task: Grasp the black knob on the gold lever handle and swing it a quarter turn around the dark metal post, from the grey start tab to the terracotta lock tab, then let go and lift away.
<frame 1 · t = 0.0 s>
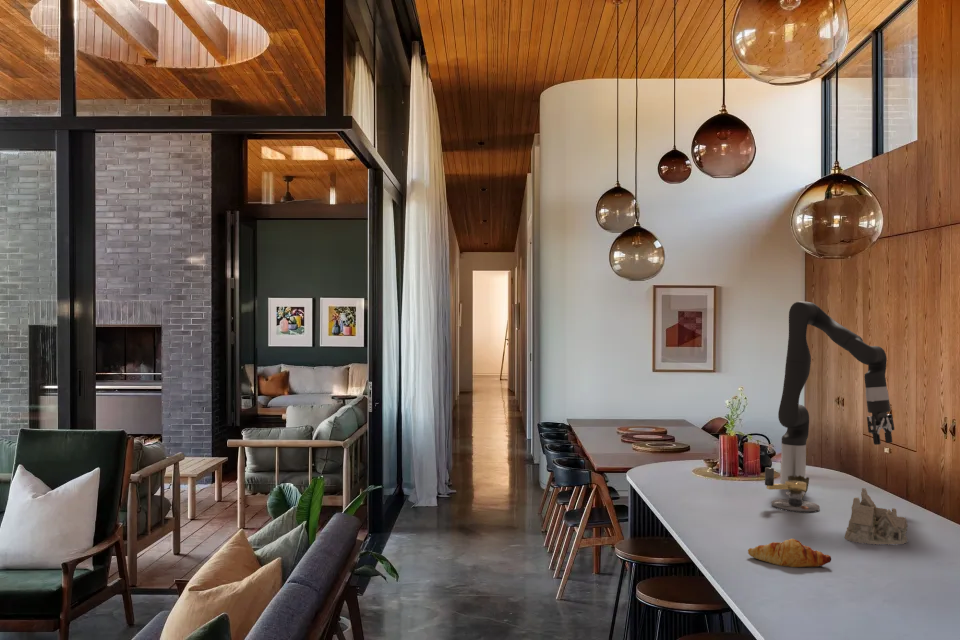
hand: (883, 443, 280), 22 cm above the kitchen island, tool pointing down, fingers open, 8 cm apart
ceramic cottage: (875, 540, 233), on the kitchen island
gold lever handle: (785, 478, 273), point 10 cm above the kitchen island, hinge at 0.0°
croissant: (788, 563, 208), on the kitchen island
post base: (795, 507, 273), on the kitchen island
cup: (798, 498, 288), on the kitchen island
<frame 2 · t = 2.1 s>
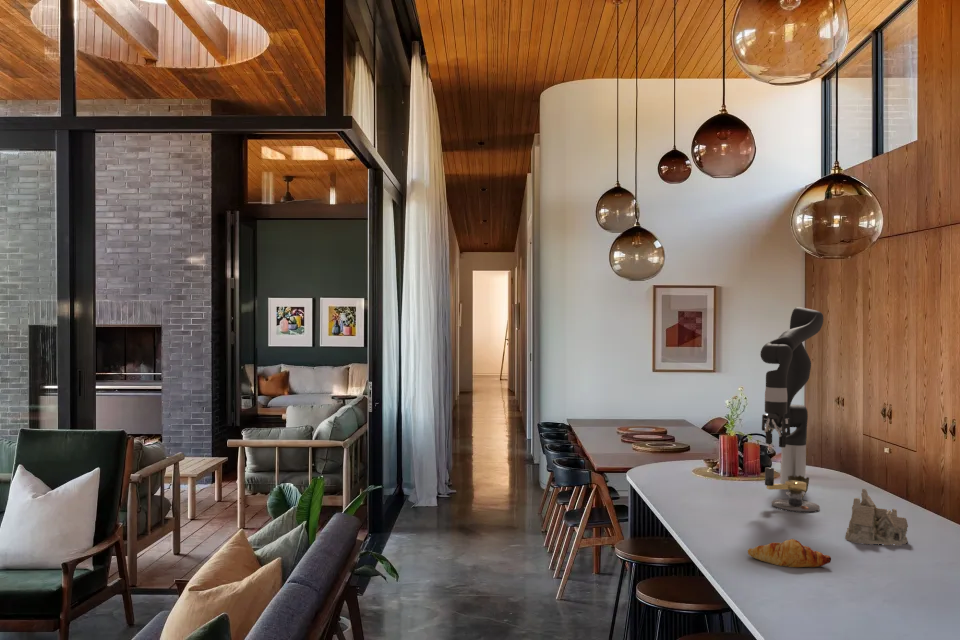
hand: (775, 445, 271), 22 cm above the kitchen island, tool pointing down, fingers open, 8 cm apart
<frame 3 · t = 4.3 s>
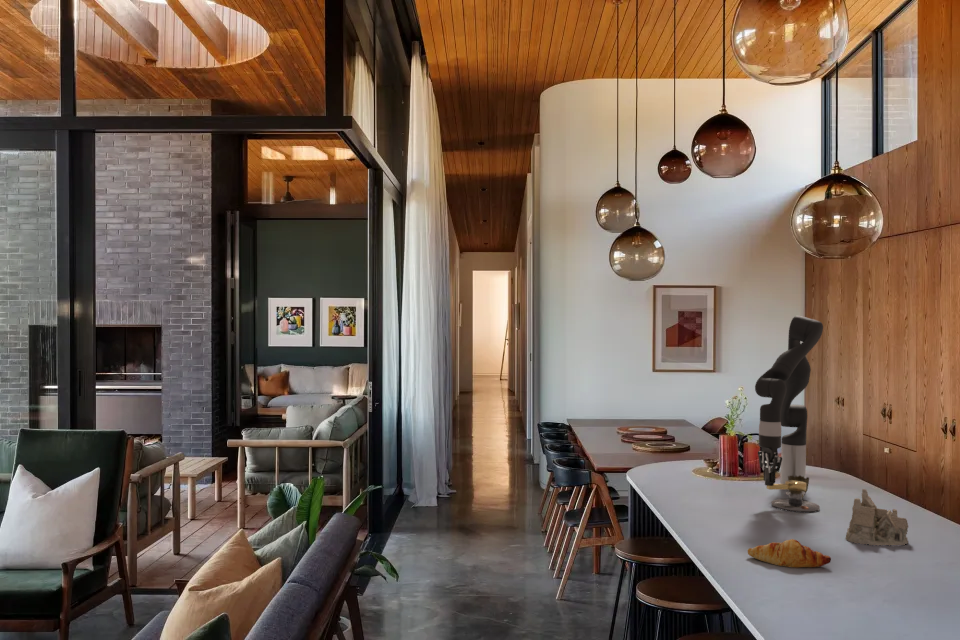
hand: (769, 481, 272), 9 cm above the kitchen island, tool pointing down, fingers closed on gold lever handle, 3 cm apart
gold lever handle: (785, 478, 273), point 10 cm above the kitchen island, hinge at 0.0°, touching gripper
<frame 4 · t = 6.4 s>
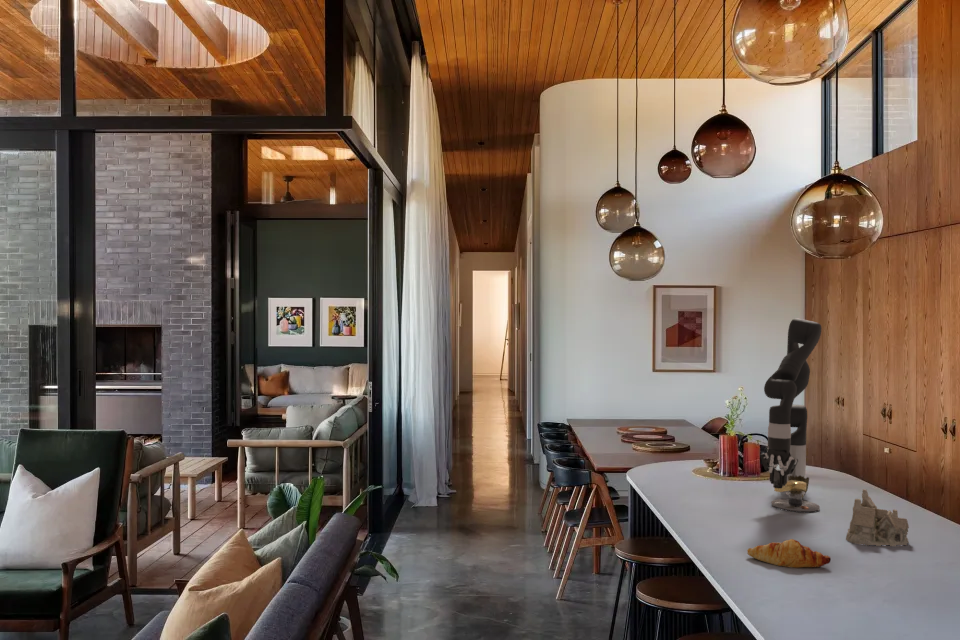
hand: (778, 484, 268), 9 cm above the kitchen island, tool pointing down, fingers closed on gold lever handle, 3 cm apart
gold lever handle: (788, 479, 271), point 10 cm above the kitchen island, hinge at 25.3°, touching gripper
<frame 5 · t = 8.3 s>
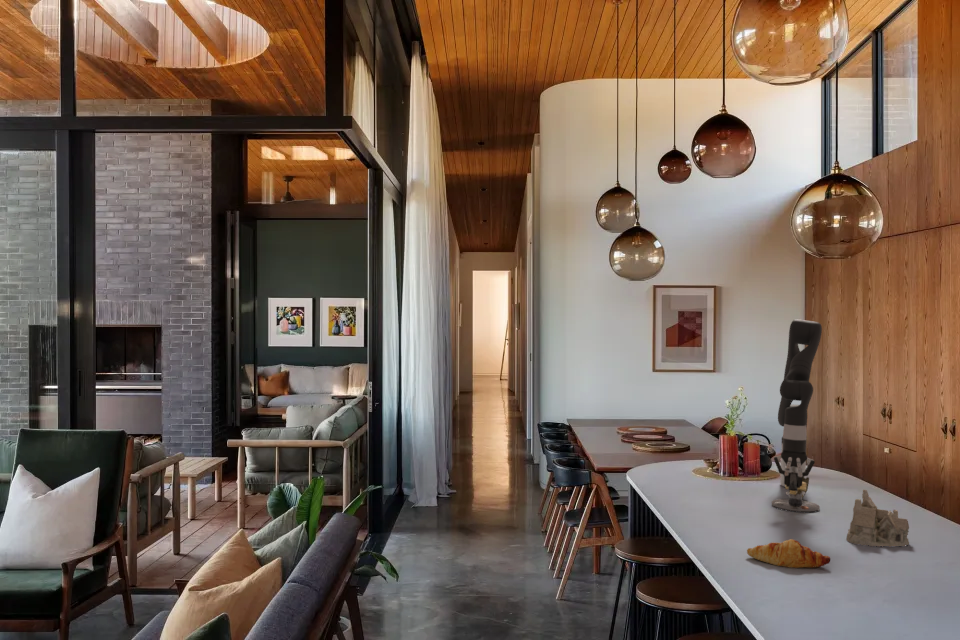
hand: (792, 486, 264), 9 cm above the kitchen island, tool pointing down, fingers closed on gold lever handle, 3 cm apart
gold lever handle: (794, 480, 270), point 10 cm above the kitchen island, hinge at 55.8°, touching gripper
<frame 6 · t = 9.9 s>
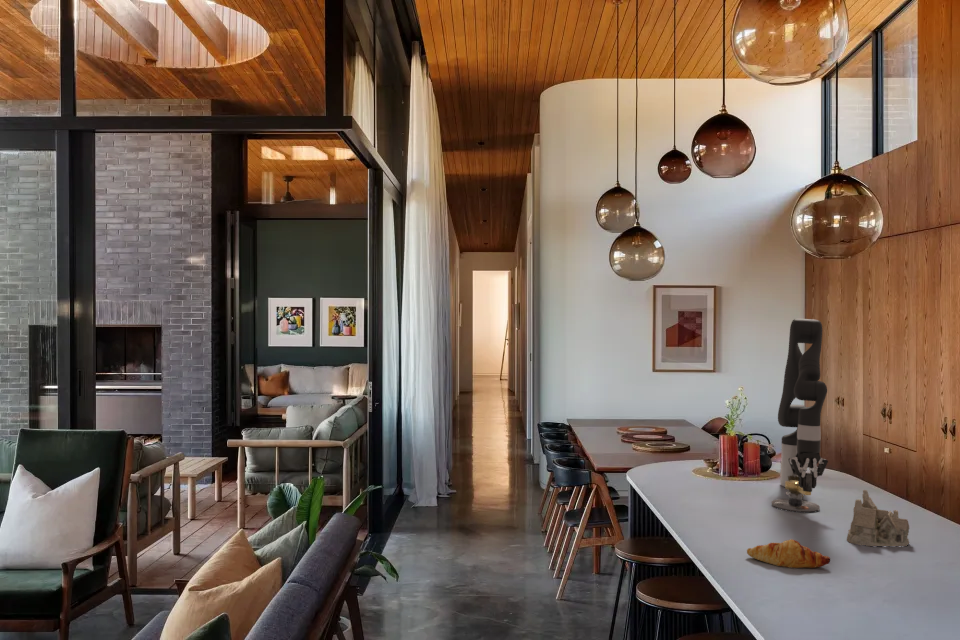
hand: (807, 487, 263), 9 cm above the kitchen island, tool pointing down, fingers closed on gold lever handle, 3 cm apart
gold lever handle: (800, 480, 269), point 10 cm above the kitchen island, hinge at 83.1°, touching gripper
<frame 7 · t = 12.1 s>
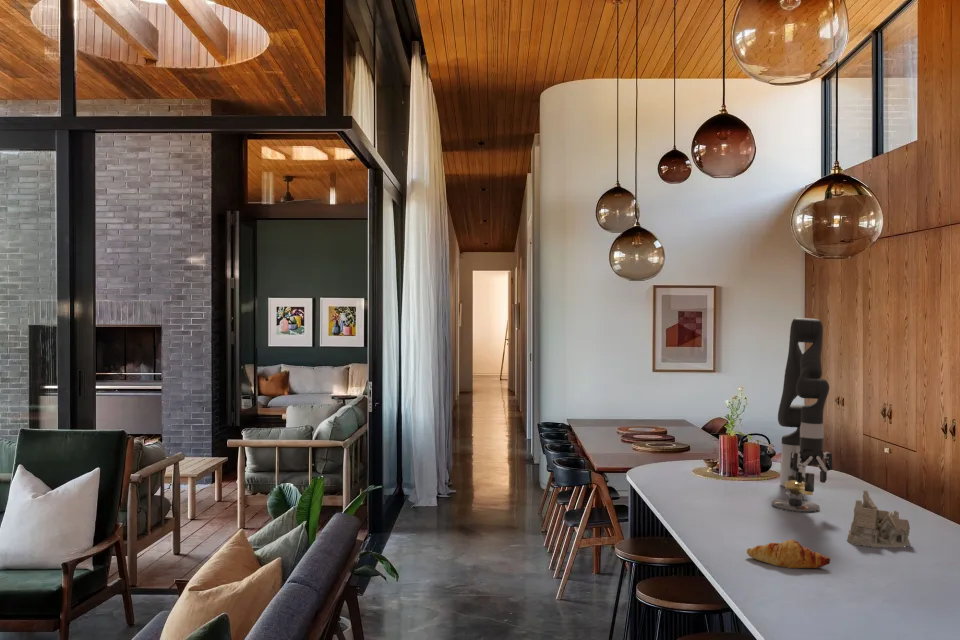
hand: (810, 482, 263), 11 cm above the kitchen island, tool pointing down, fingers open, 8 cm apart
gold lever handle: (801, 480, 269), point 10 cm above the kitchen island, hinge at 86.7°
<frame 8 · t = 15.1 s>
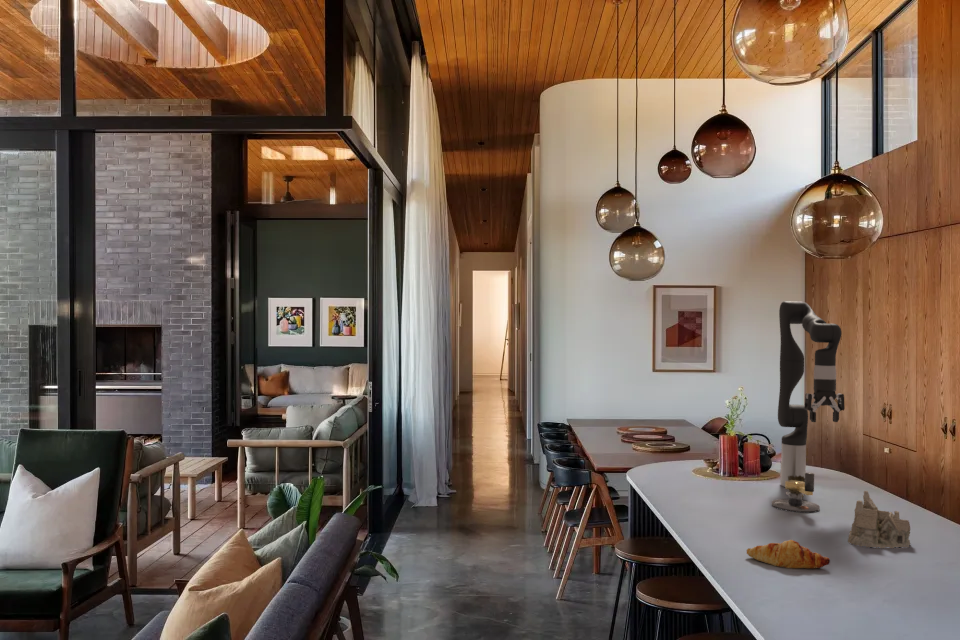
hand: (824, 421, 279), 30 cm above the kitchen island, tool pointing down, fingers open, 8 cm apart
at the end: gold lever handle at +87° (first picture: +0°); the gripper is holding nothing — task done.
